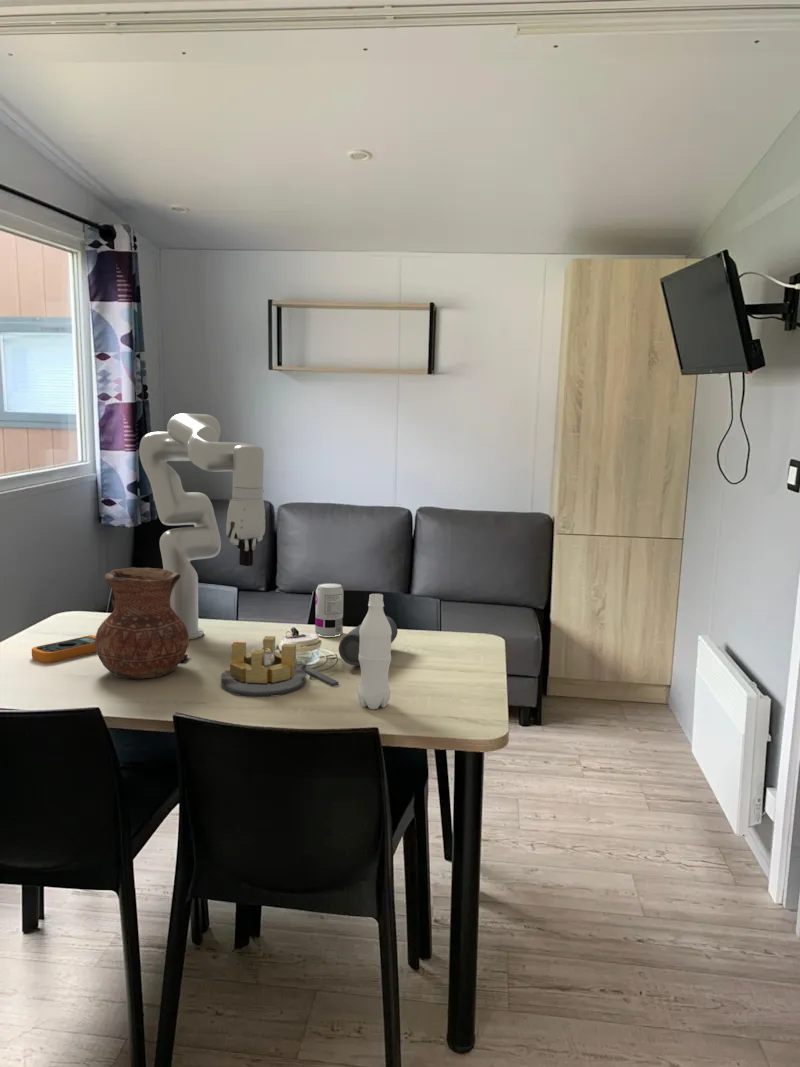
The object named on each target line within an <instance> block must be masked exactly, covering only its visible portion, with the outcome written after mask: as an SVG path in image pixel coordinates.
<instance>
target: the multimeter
mask: <svg viewBox="0 0 800 1067" xmlns="http://www.w3.org/2000/svg"><path fill="white" fill-rule="evenodd" d="M95 638H96V635H95V634H94V635H93V634H88V635H85V636H81V637H75V638H72V639H68V640H61V641H56V642H52V643H47V644H42V645H38V646H34V647H32V648H31V657H32V658H31V659H33V660H34V661H37V662H39V663H43V664H53V663H58V662H61V661H65V660H69V659H74V658H78V657H81V656H82V657H83V656H86V655H91V654H97V652H96V649H95Z"/></svg>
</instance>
